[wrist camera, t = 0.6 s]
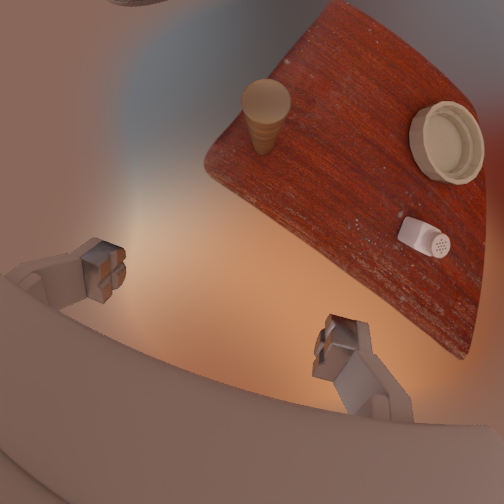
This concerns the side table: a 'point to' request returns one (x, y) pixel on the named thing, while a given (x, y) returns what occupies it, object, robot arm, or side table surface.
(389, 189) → the side table surface
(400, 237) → the salt shaker
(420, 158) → the bowl
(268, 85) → the stirring stick
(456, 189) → the side table surface
